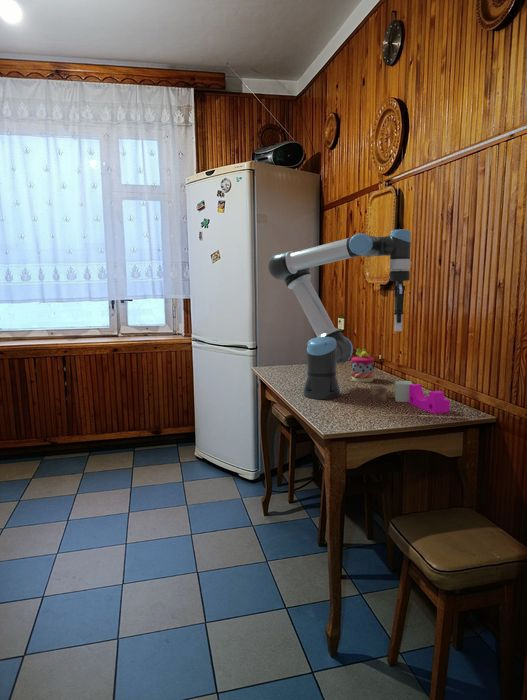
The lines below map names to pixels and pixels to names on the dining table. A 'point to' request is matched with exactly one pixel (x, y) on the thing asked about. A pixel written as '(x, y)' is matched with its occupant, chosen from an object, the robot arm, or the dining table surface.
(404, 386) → the sage block
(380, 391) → the walnut block
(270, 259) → the robot arm
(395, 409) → the dining table surface
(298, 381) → the dining table surface
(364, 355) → the cake
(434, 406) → the toy block
